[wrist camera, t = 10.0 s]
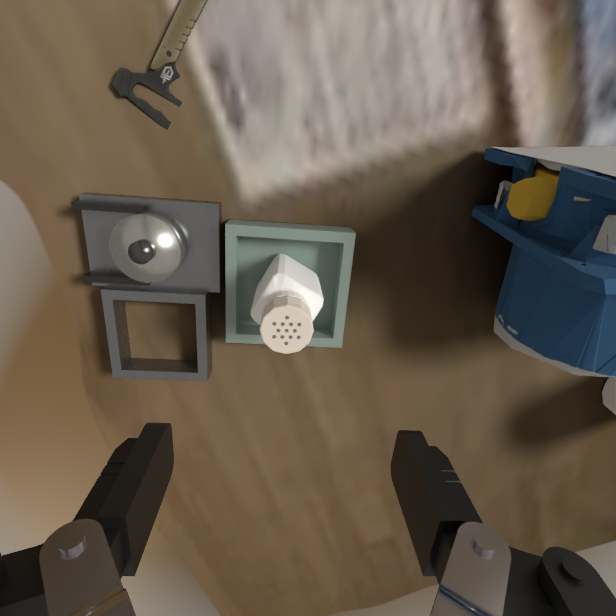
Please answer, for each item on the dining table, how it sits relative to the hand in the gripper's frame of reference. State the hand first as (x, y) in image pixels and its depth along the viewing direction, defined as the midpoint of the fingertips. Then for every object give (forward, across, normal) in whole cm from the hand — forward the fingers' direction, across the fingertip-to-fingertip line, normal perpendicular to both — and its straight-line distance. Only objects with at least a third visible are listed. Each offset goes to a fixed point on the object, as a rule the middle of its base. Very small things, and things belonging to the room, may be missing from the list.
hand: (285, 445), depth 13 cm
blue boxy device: (+20, -22, -5) cm, 30 cm away
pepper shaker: (+19, 0, 0) cm, 19 cm away
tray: (+19, 0, 0) cm, 19 cm away
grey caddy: (+19, +10, +2) cm, 22 cm away
